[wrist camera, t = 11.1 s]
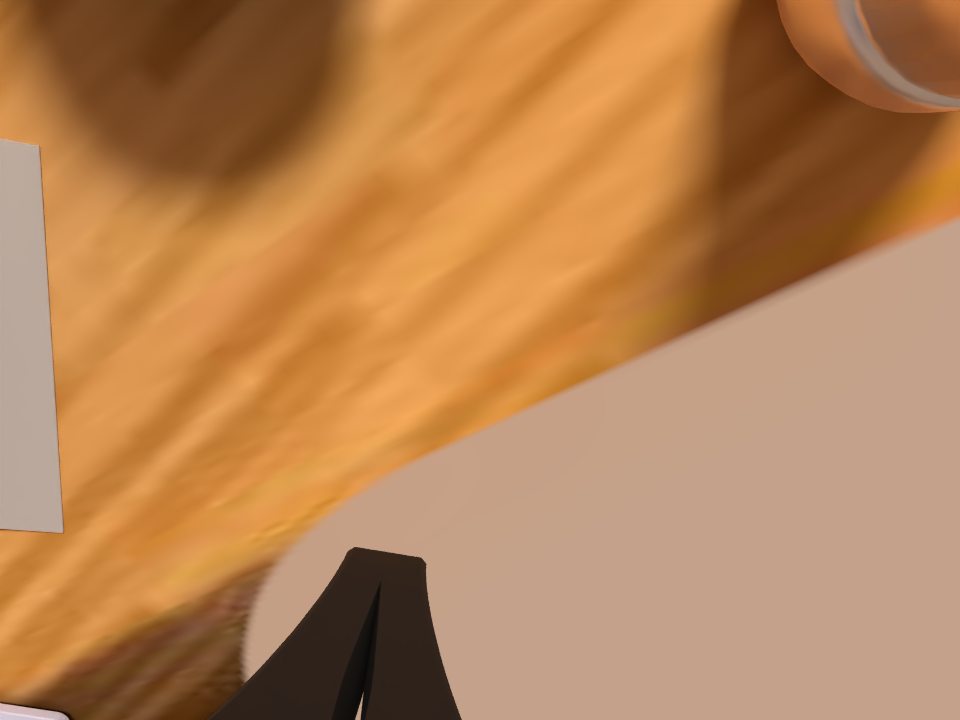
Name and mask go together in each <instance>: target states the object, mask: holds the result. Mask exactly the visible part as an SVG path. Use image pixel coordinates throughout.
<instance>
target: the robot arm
mask: <svg viewBox="0 0 960 720" xmlns="http://www.w3.org/2000/svg"><path fill="white" fill-rule="evenodd" d="M363 692H364V693H363ZM362 695H363V702H362V711H361V720H462V719H461V717H460V714H459V712H458V709H457V706H456V703H455V700H454V698H453V695H452V692H451V689H450V685H449V683H448V679H447V676H446V673H445V670H444V667H443V663H442V659H441V656H440V652H439V648H438V644H437V640H436V636H435V632H434V628H433V623H432V618H431V613H430V607H429V601H428V593H427V585H426V563H425V562H424V560H423V559H422V558H420V557H414V556H407V555H401V554H395V553H388V552H383V551H377V550H370V549H364V548H358V547H354V548H353V549H351V550H349V551H348V552H347V554H346V556H345V559H344V560H343V562H342V564H341V565H340V567H339V569H338V570H337V572H336V574H335V576H334V577H333V578H332V580H331V581H330V583H329V584H328V586H327V587H326V589H325V590H324V592H323V593H322V594H321V596H320V597H319V599H318V600H317V601H316V602H315V604H314V605H313V606H312V608H311V609H310V610H309V611H308V613H307V614H306V615H305V617H304V618H303V619H302V621H301V622H300V623H299V624H298V626H297V627H296V628H295V629H294V631H293V632H292V633H291V634H290V635H289V636H288V637H287V638H286V640H285V641H284V642H283V643H282V644H281V646H279V648H278V649H277V650H276V651H275V652H274V653H273V654H272V656H271V657H270V658H269V659H268V660H267V661H266V662H265V663H264V664H263V665H262V666H261V668H260V669H259V670H258V671H257V672H256V673H255V674H254V675H253V676H252V677H251V678H250V679H249V680H248V681H247V682H246V683H245V684H244V685H243V686H242V687H241V688H240V689H239V690H238V691H237V692H236V693H234V694H233V695H232V696H231V697H230V698H229V699H228V700H227V701H226V702H225V703H224V704H223V705H222V706H221V707H219V708H218V709H217V710H216V711H215V712H214V713H213V714H211V715H210V716H209V717H208V718H207V719H206V720H355V718H356V715H357V712H358V708H359V705H360V702H361V698H362ZM0 720H69V718H68V717H67V716H66V715H64V714H63V713H60V712H55V711H49V710H42V709H35V708H29V707H22V706H15V705H9V704H2V703H0Z"/></svg>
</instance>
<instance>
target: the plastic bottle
mask: <svg viewBox="0 0 960 720" xmlns="http://www.w3.org/2000/svg"><path fill="white" fill-rule="evenodd" d="M776 1H777V6H778V10H779V14H780V18H781V22H782V24H783V26H784V28H785V30H786V33H787V35H788V37H789V39H790V41H791V43H792V45H793V47H794V48H795V49H796V51H797V52H798V53H799V55H800V56H801V57H802V59H803V60H804V61H805V63H806V64H807V65H808V66H809V67H810V68H811V69H812V70H814V71H815V72H816V73H817V74H818V75H820V76H821V77H822V78H823V79H824V80H826V81H827V82H828V83H830V84H831V85H833V86H834V87H836V88H837V89H839V90H840V91H841V92H843V93H844V94H846V95H848V96H850V97H852V98H854V99H856V100H858V101H860V102H862V103H864V104H866V105H868V106H871V107H875V108H879V109H884V110H888V111H892V112H897V113H934V112H948V111H960V0H776Z"/></svg>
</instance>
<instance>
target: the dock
mask: <svg viewBox="0 0 960 720" xmlns="http://www.w3.org/2000/svg"><path fill="white" fill-rule="evenodd" d="M0 529H12V530H26V531H40V532H55V533H64V526H63V510H62V494H61V478H60V462H59V446H58V430H57V414H56V398H55V382H54V366H53V350H52V334H51V318H50V302H49V285H48V269H47V253H46V237H45V221H44V205H43V189H42V173H41V157H40V146H38V145H33V144H28V143H22V142H17V141H12V140H7V139H1V138H0Z"/></svg>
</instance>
